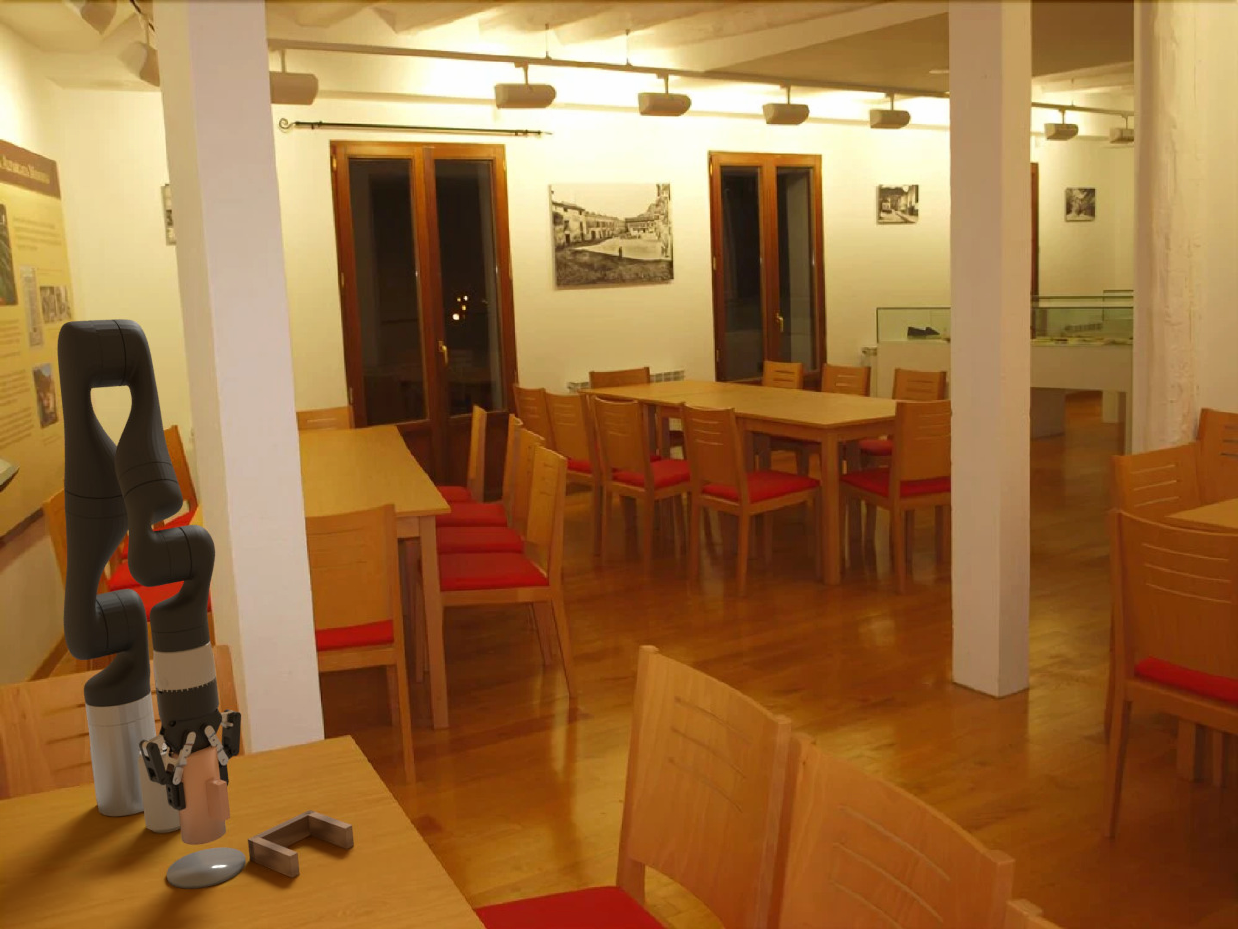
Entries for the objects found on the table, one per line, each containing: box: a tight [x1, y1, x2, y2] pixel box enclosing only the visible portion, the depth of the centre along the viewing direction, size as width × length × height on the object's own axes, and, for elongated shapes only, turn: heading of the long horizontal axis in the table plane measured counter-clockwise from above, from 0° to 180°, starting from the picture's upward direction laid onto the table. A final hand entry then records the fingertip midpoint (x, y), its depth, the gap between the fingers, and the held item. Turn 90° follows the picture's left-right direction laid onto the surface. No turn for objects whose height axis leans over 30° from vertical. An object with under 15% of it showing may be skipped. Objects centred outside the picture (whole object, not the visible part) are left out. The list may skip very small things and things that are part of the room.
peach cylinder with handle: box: [172, 745, 231, 846], centre depth 153 cm, size 8×6×12 cm, turn 53°
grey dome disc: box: [166, 847, 247, 890], centre depth 156 cm, size 10×10×1 cm
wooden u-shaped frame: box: [247, 809, 355, 879], centre depth 159 cm, size 9×10×3 cm
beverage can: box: [138, 743, 181, 834], centre depth 169 cm, size 6×6×12 cm
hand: (199, 799), depth 154 cm, fingers closed on peach cylinder with handle, 5 cm apart
